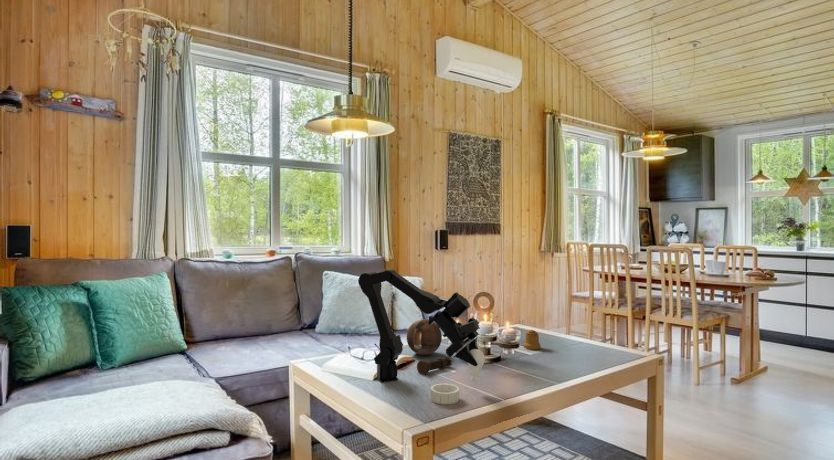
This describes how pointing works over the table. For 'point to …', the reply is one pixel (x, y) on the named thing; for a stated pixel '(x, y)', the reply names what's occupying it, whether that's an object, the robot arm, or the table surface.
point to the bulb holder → (444, 394)
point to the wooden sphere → (424, 337)
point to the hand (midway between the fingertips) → (479, 363)
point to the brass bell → (532, 340)
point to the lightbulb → (476, 369)
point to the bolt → (433, 365)
